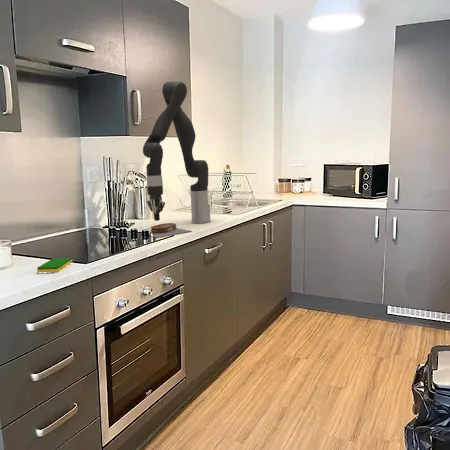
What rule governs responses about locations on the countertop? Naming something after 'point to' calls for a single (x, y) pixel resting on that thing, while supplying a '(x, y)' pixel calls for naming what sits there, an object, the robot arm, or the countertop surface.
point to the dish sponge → (54, 265)
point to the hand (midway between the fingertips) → (156, 220)
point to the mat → (170, 233)
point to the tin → (163, 228)
